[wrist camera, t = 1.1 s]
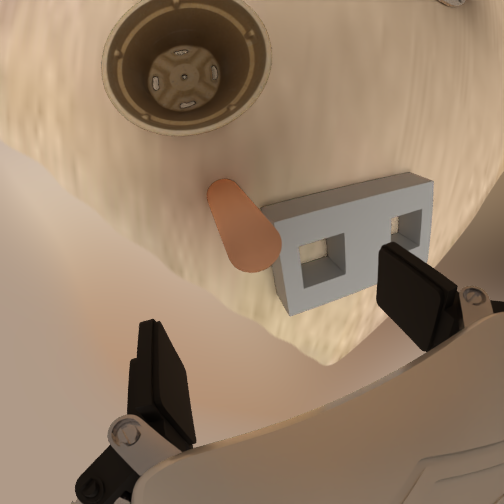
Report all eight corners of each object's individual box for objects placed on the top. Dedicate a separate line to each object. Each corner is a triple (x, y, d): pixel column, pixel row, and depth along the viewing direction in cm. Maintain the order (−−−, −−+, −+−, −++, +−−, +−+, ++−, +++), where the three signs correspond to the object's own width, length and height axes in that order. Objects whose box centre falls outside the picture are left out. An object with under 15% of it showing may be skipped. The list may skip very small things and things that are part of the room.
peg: (236, 175, 25) (277, 214, 15) (243, 206, 26) (285, 263, 17) (203, 184, 24) (221, 230, 15) (211, 215, 26) (234, 278, 16)
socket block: (409, 172, 29) (433, 181, 25) (407, 248, 33) (427, 262, 30) (260, 207, 27) (274, 222, 23) (277, 294, 31) (289, 316, 28)
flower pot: (106, 68, 18) (72, 46, 10) (204, 9, 17) (219, -36, 10) (165, 153, 22) (159, 170, 15) (260, 93, 22) (301, 83, 14)
